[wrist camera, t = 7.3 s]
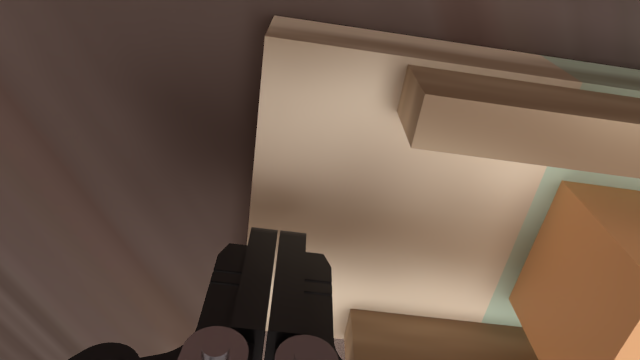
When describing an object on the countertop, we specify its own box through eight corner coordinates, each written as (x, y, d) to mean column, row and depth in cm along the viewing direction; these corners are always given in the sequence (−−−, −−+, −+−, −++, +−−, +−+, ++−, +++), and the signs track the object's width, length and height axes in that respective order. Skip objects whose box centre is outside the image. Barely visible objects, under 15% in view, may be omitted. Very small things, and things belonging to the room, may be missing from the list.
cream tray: (274, 15, 16) (250, 67, 10) (921, 111, 17) (1184, 199, 12) (249, 276, 21) (225, 397, 16) (745, 331, 22) (874, 458, 17)
